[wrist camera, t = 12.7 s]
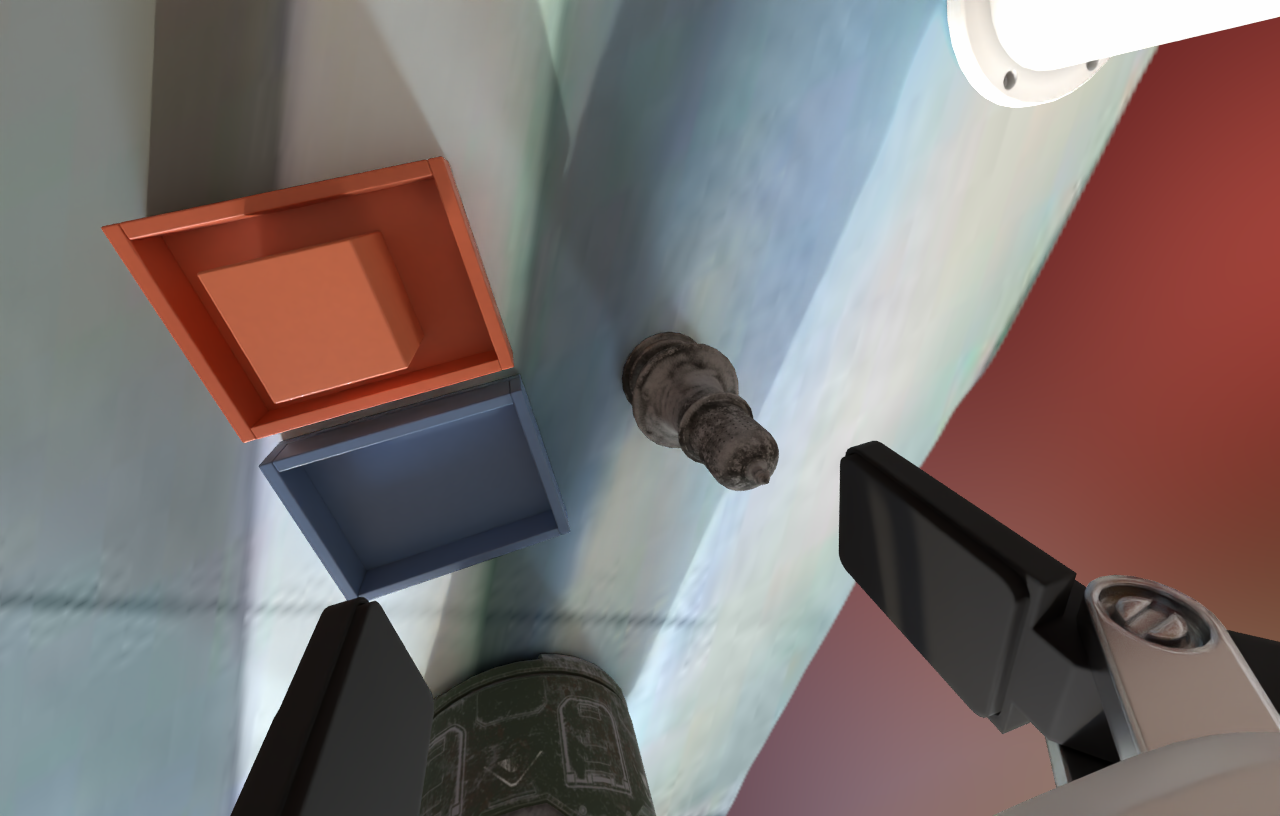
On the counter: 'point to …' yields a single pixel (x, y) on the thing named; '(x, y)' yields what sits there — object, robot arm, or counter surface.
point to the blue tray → (421, 488)
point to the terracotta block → (318, 315)
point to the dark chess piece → (698, 409)
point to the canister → (535, 745)
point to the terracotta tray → (310, 215)
